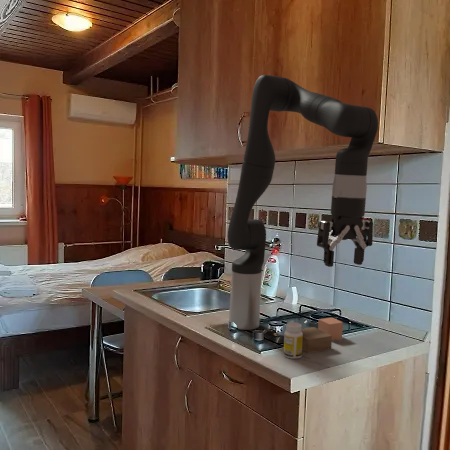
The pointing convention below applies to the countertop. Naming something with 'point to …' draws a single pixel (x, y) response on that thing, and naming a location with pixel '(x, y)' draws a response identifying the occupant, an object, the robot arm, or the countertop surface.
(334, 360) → the countertop surface
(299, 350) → the supplement bottle
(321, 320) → the terracotta cube
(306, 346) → the walnut block
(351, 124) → the robot arm
